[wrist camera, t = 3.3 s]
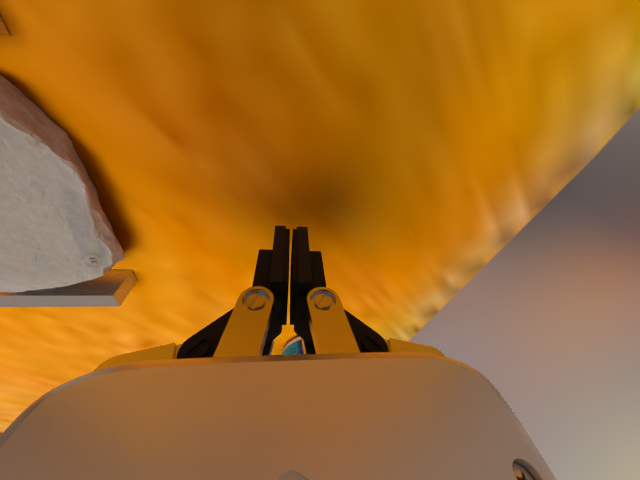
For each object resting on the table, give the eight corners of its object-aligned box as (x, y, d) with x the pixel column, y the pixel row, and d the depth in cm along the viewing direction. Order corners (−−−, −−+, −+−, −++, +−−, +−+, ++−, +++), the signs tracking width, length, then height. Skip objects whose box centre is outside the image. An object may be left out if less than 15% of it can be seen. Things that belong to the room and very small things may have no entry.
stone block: (35, 47, 12) (-229, 80, 10) (-53, 44, 8) (-483, 95, 6) (165, 232, 19) (27, 267, 18) (150, 273, 16) (-24, 321, 14)
